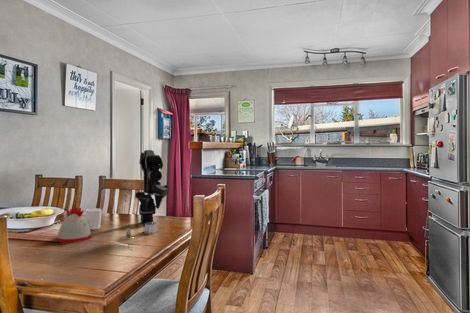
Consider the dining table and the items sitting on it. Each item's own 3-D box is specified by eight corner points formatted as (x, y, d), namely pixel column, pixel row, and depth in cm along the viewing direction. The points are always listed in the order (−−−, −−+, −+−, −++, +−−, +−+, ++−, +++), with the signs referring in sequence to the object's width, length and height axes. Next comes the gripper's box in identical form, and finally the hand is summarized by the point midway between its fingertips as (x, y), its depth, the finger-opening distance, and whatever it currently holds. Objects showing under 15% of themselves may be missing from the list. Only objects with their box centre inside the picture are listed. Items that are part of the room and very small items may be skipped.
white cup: (97, 230, 158) (97, 211, 158) (82, 229, 158) (82, 210, 158) (103, 226, 166) (104, 208, 165) (89, 226, 166) (90, 208, 166)
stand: (140, 234, 153) (141, 223, 153) (150, 231, 159) (150, 221, 159) (151, 236, 150) (151, 225, 150) (160, 233, 156) (161, 222, 156)
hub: (117, 239, 143) (117, 229, 143) (128, 236, 149) (128, 226, 149) (128, 242, 140) (128, 231, 140) (139, 238, 146) (139, 228, 146)
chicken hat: (76, 244, 135) (77, 210, 134) (50, 241, 137) (51, 208, 137) (96, 235, 148) (97, 205, 148) (72, 233, 151) (73, 203, 151)
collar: (142, 232, 153) (142, 223, 153) (150, 229, 158) (150, 221, 158) (151, 234, 150) (151, 225, 150) (159, 231, 156) (159, 223, 156)
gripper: (153, 182, 142) (152, 215, 142) (176, 179, 159) (175, 208, 159) (134, 180, 147) (134, 212, 147) (159, 178, 164) (158, 206, 164)
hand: (151, 210), depth 154 cm, fingers open, 9 cm apart
